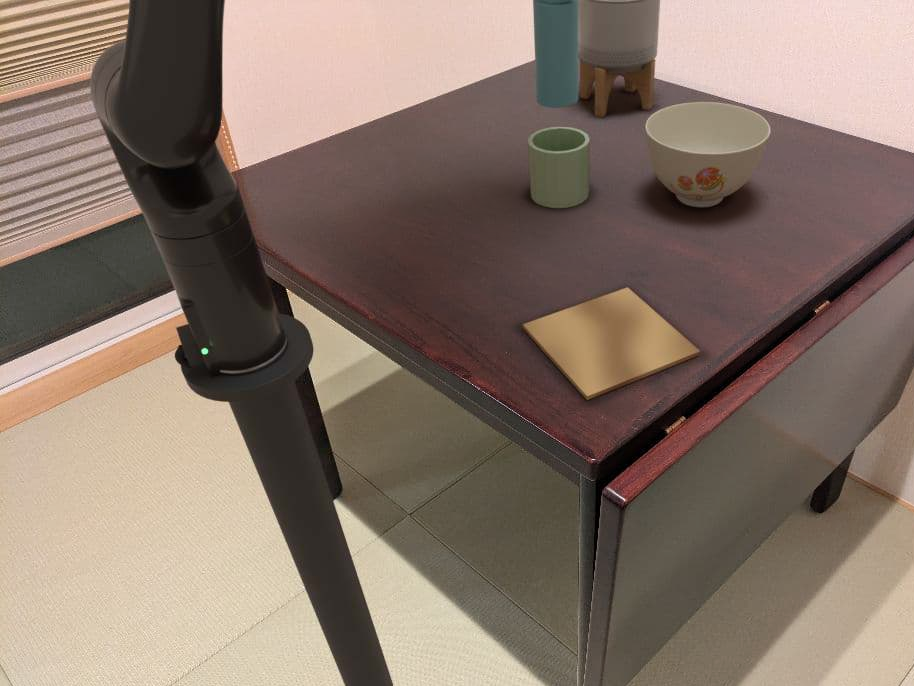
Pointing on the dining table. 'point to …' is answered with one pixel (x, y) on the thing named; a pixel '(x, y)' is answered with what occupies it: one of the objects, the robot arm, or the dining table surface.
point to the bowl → (705, 149)
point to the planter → (617, 48)
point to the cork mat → (609, 342)
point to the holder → (559, 166)
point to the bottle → (556, 52)
